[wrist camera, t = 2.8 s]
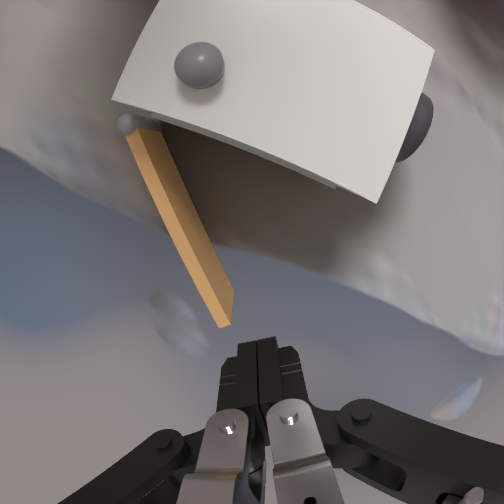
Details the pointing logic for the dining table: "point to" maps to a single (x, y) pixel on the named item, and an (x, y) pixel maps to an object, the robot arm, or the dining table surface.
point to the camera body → (287, 83)
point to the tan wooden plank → (179, 214)
